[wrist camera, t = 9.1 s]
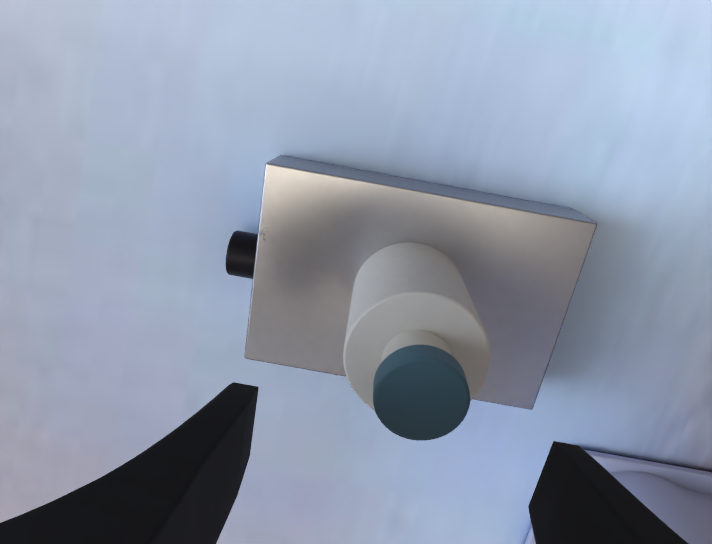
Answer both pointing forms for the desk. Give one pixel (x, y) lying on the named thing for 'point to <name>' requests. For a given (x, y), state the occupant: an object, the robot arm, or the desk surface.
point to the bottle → (414, 341)
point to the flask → (398, 225)
